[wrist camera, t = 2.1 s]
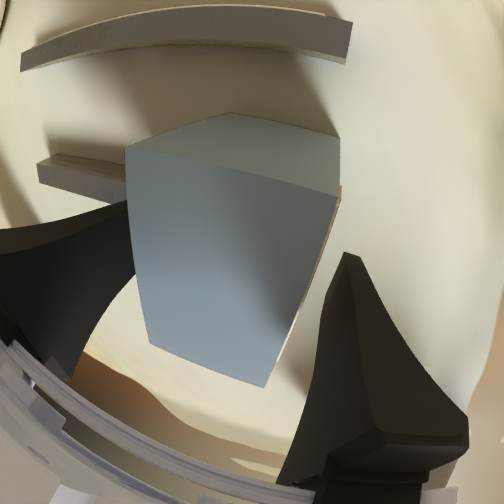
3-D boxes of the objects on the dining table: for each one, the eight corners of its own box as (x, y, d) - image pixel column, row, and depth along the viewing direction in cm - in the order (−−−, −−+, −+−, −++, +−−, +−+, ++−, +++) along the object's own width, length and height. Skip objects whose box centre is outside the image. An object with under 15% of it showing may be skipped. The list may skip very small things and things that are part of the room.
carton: (214, 252, 16) (149, 343, 11) (229, 112, 11) (124, 147, 6) (301, 280, 15) (269, 389, 10) (344, 139, 11) (349, 201, 5)
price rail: (46, 169, 17) (27, 179, 15) (43, 47, 11) (21, 50, 9) (300, 236, 14) (293, 259, 12) (351, 29, 8) (353, 17, 6)
